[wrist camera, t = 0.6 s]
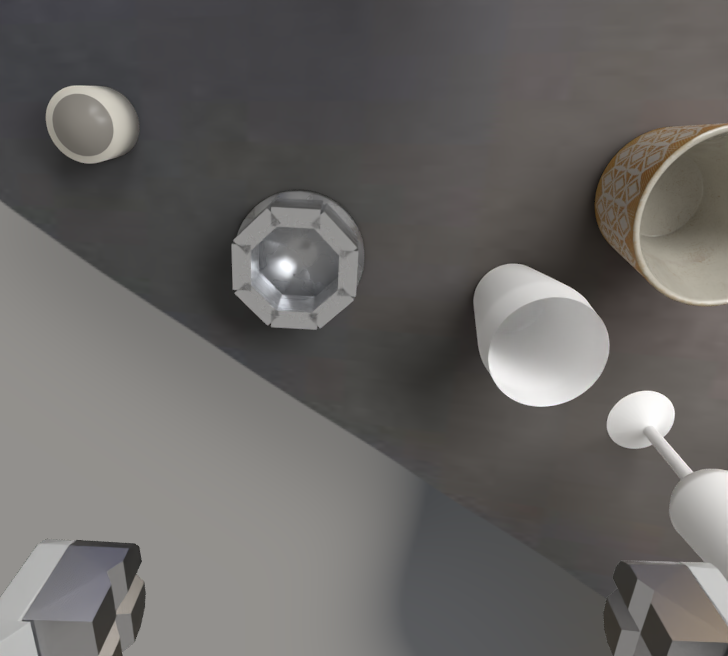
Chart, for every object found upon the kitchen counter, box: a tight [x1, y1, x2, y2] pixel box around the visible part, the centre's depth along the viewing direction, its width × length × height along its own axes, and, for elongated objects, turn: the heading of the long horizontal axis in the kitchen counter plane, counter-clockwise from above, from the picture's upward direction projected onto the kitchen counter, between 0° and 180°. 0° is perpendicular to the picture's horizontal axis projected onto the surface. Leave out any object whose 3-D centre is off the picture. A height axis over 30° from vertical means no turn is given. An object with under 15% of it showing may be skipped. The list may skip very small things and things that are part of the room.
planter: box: [595, 123, 728, 306], centre depth 45 cm, size 13×13×10 cm
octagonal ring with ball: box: [232, 190, 364, 330], centre depth 49 cm, size 11×11×5 cm
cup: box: [473, 264, 609, 407], centre depth 47 cm, size 9×9×12 cm
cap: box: [46, 86, 139, 163], centre depth 45 cm, size 6×6×4 cm
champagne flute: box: [607, 391, 728, 582], centre depth 47 cm, size 7×7×24 cm
